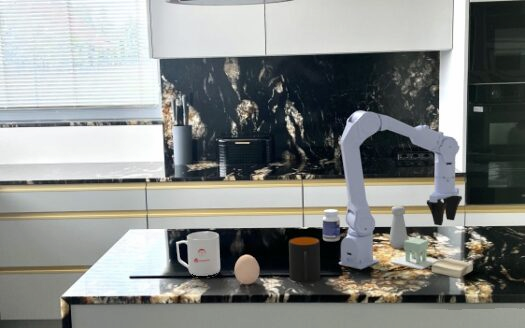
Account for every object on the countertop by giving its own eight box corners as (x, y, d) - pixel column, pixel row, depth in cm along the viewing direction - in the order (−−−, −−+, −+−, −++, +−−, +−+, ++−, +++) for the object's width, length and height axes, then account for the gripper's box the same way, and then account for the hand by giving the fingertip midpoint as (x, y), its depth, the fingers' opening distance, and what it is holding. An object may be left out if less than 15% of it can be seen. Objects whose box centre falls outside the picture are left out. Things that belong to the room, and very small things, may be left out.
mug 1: (220, 267, 172) (219, 230, 171) (220, 277, 164) (218, 238, 162) (179, 269, 172) (177, 232, 170) (176, 280, 163) (174, 240, 162)
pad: (421, 269, 165) (421, 268, 164) (390, 263, 171) (390, 261, 171) (439, 261, 172) (439, 259, 172) (408, 254, 179) (408, 253, 178)
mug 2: (290, 288, 154) (289, 249, 152) (289, 273, 166) (288, 237, 164) (322, 287, 154) (322, 248, 152) (319, 272, 166) (318, 236, 164)
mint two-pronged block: (419, 264, 168) (419, 244, 167) (403, 261, 171) (403, 241, 170) (428, 260, 171) (428, 240, 170) (412, 257, 175) (412, 237, 174)
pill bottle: (340, 241, 196) (340, 212, 194) (323, 242, 196) (323, 212, 194) (338, 237, 201) (338, 208, 200) (322, 237, 201) (321, 208, 200)
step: (459, 277, 157) (459, 270, 157) (431, 271, 162) (431, 264, 162) (472, 270, 163) (472, 263, 162) (445, 264, 168) (445, 257, 168)
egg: (231, 282, 160) (230, 253, 159) (254, 278, 163) (252, 250, 161) (240, 289, 154) (239, 260, 153) (263, 285, 157) (262, 256, 155)
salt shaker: (394, 243, 192) (394, 203, 190) (411, 245, 188) (410, 205, 186) (385, 247, 187) (385, 207, 185) (402, 250, 184) (402, 209, 182)
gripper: (445, 181, 165) (445, 229, 167) (469, 174, 175) (468, 219, 177) (422, 179, 169) (422, 225, 171) (446, 172, 180) (446, 216, 182)
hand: (444, 222), depth 174 cm, fingers open, 7 cm apart
